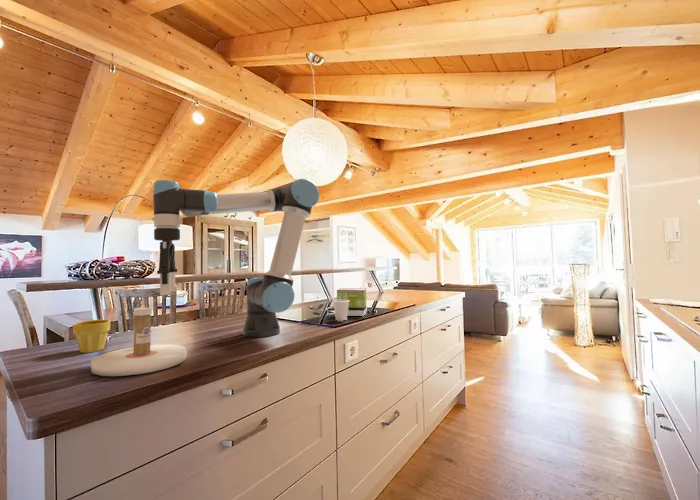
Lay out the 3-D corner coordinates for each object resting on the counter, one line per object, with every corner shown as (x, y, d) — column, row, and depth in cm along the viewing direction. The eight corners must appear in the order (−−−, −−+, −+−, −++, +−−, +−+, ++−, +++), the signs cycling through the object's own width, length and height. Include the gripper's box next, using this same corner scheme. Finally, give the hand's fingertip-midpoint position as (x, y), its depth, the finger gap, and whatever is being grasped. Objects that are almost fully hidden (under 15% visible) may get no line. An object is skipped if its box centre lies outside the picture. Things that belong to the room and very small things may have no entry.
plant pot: (90, 354, 113) (90, 325, 114) (64, 353, 116) (65, 324, 116) (117, 347, 124) (117, 319, 124) (93, 346, 126) (93, 319, 126)
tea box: (336, 317, 184) (336, 289, 185) (340, 314, 194) (339, 287, 195) (364, 317, 182) (364, 289, 182) (366, 314, 192) (366, 287, 192)
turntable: (186, 348, 118) (187, 326, 118) (186, 368, 96) (186, 341, 96) (102, 357, 108) (102, 333, 108) (79, 381, 86) (79, 351, 86)
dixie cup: (331, 321, 170) (331, 301, 170) (334, 318, 178) (334, 299, 178) (348, 321, 169) (348, 301, 169) (350, 319, 177) (350, 299, 177)
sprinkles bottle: (142, 356, 99) (142, 309, 100) (128, 355, 100) (129, 309, 101) (154, 352, 104) (155, 307, 104) (141, 351, 105) (142, 307, 105)
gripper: (160, 231, 123) (161, 290, 123) (146, 224, 100) (148, 297, 100) (183, 231, 126) (184, 289, 126) (175, 224, 103) (176, 295, 102)
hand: (168, 293), depth 113 cm, fingers open, 13 cm apart
